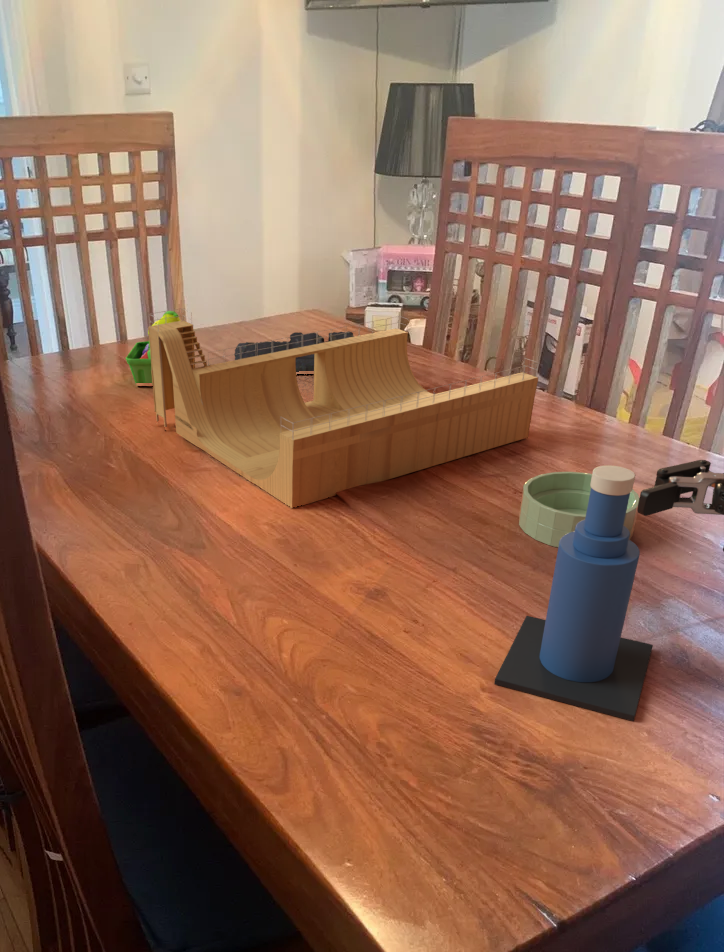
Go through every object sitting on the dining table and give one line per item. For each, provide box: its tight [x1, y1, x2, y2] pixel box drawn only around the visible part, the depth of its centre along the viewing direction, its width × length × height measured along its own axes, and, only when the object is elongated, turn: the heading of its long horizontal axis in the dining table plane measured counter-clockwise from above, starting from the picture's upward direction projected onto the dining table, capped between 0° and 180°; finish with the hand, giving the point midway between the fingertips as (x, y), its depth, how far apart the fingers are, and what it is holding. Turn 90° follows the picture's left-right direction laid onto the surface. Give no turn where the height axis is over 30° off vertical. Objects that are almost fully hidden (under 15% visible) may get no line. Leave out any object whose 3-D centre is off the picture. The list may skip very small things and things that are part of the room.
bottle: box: [540, 464, 641, 682], centre depth 69 cm, size 6×6×17 cm
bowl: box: [518, 471, 640, 548], centre depth 95 cm, size 12×12×4 cm
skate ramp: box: [148, 308, 540, 509], centre depth 119 cm, size 40×35×16 cm
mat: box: [493, 615, 654, 722], centre depth 73 cm, size 11×11×1 cm
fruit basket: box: [125, 310, 182, 384], centre depth 144 cm, size 11×9×11 cm
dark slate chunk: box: [233, 330, 355, 372], centre depth 153 cm, size 15×22×5 cm
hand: (683, 522), depth 71 cm, fingers open, 8 cm apart
